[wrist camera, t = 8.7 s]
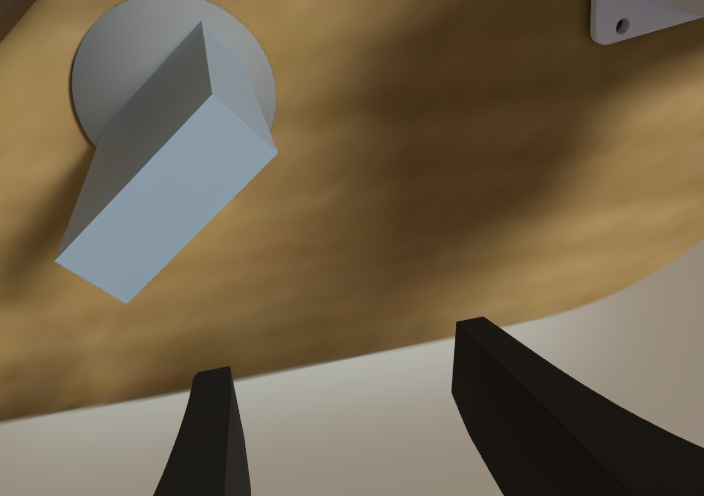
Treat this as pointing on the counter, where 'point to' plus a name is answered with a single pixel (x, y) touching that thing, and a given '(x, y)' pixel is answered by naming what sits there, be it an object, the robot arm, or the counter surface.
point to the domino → (11, 14)
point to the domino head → (166, 166)
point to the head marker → (154, 55)
